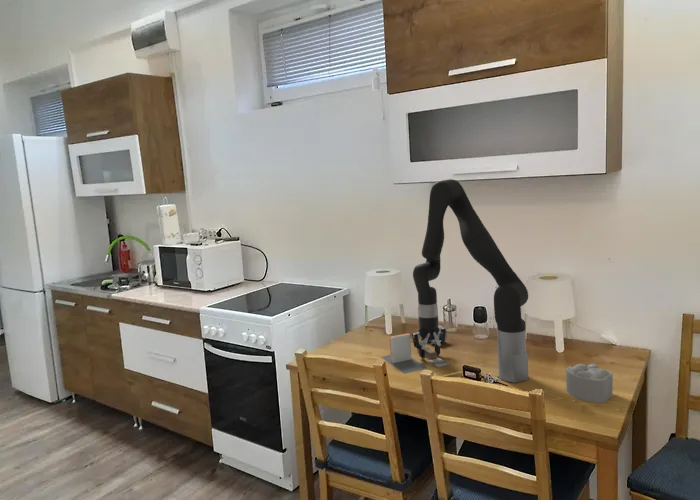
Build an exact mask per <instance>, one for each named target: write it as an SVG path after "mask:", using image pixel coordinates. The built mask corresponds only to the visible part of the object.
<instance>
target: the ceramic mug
mask: <svg viewBox="0 0 700 500" xmlns="http://www.w3.org/2000/svg"><path fill="white" fill-rule="evenodd" d="M441 327H442V328H444V329H446V328H445V327H444V326H443V325H438V328H441ZM437 337H438V339H439V332H438V334H437ZM447 337H448V333H447V331H446V334H445V341H446V340H447V339H448V338H447ZM427 343H429V346H432V345H435V343H434V341H433V340H430V341H427Z"/></svg>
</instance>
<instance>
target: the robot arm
mask: <svg viewBox="0 0 700 500" xmlns="http://www.w3.org/2000/svg"><path fill="white" fill-rule="evenodd" d="M428 202H429V204H428V213H427V214H428V215H427V227H426V231H425V237H424V239H423V240H424V241H423V244H422V245H423V246H422V249H421V256H422V257H423V258H424V259H426V260H425V262H423V263H420V264H416V265H415V266H414V268H413V272H412V278H413V281H414V285H415V288H416V291H417V299H418V301H417V303H418V305H417V317H418V327H419V329H418V331H417V332H412V333H411V336H412V343H413V346H414V348H416V350H417V349H419V353H418V354H419V355H418V356H419V357H420V359H423V360H424V359H426V357H425V350H424V347H425V346H426V345H427V344H428V342H427V341H430V340H433V341H434V343H435V344H434V351H435V352H437V357H438V356H440V353H441V346H442V345H444V344H445V343H446V340H445V334H446V332H447V329H446V328H445V327H444V328H445V329H444V328H442V327H441V328H438V325H439V308H438V299H437V298H438V296H437V289H436V288H435V287H433V286H431V285H430V282H431V281H434V280H436V279H437V278H438V277H439V276H440V273H441V255H442V251H443V247H444V242H445V229H444V220H445V219H444V217H445V214H446V212H447V209H448V207H449V208H450V209H451V211H452V212H453V214H454V215H455V217H456V219H457V222H458V225H459V230H460V237H461V239H462V243H463V245H464V246H465V249H467V251H468V252H469V254H470V256H471V257H472V259H473V260H475V262H476V263H478V264H479V265H480V266H481V267H483V268H484V269H485V270H486V271H487V272H488V273H490V275H491V276H492V278H493V279H494V280H495V282H496V285H497V286H498V287H497V288H496V289H495V291H494V294H493V308H494V309H493V311H494V321H495V323H496V326H497V327H496V328H497V329H496V330H497V365H498V378H499V379H500V380H502V381H505V382H510V383H513V384H515V383H520V382H523V381H528V380H529V353H528V352H527V348H526V347H527V346H526V345H527V335H526V333H527V332H526V331H527V330H526V329H527V328H526V321H525V319H524V318H523V319H522V309H521V308H522V307H523V306H524V305H525V304H526V303H527V302H528V300H529V291H528V289H527V287H526V285H525V284H524V283H523V281H522V279H520V277H519V276H518V275H517V274H516V273H515V271H514V270H513V268H512V267H511V266H510V264H509V263H508V261H507V259H506V258H505V257H504V255H503V253H502V251H501V250H500V248H499V247H498V245H497V243H496V242H495V239H494V238H493V237H492V236H491V233H490V232H489V231H488V229H487V228H486V227H485V225H484V223H483V221H482V220H481V218H480V217H479V215H478V213H477V212H476V211H475V208H474V207H473V205H472V203H471V202H470V199H469V197H468V196H467V193H466V190H465V189H464V188H463V186H462V185H461V183H460V182H459V181H457V180H456V179H452V178H451V179H450V178H449V179H443V180H439V181H437V182H436V181H435V183H433V185H432V186H431V189H430V193H429V201H428ZM438 332H439V339H438V337H437V334H438Z"/></svg>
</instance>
